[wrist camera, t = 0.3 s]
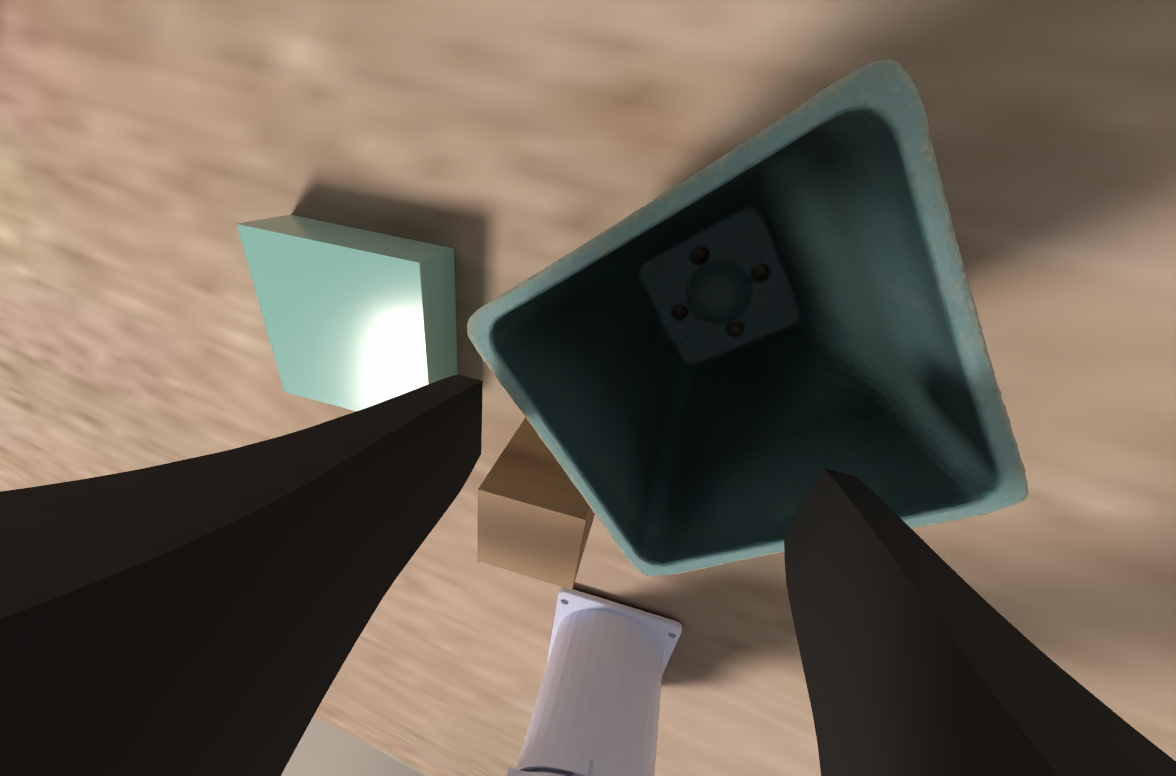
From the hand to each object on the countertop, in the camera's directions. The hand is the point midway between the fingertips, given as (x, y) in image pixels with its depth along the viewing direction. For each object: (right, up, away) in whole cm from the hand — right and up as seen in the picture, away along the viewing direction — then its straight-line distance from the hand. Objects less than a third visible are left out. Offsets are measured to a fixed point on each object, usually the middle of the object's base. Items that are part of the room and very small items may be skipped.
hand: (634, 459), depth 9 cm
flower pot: (+4, +5, +8) cm, 10 cm away
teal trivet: (-11, +5, +12) cm, 17 cm away
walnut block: (-2, -2, +14) cm, 14 cm away
